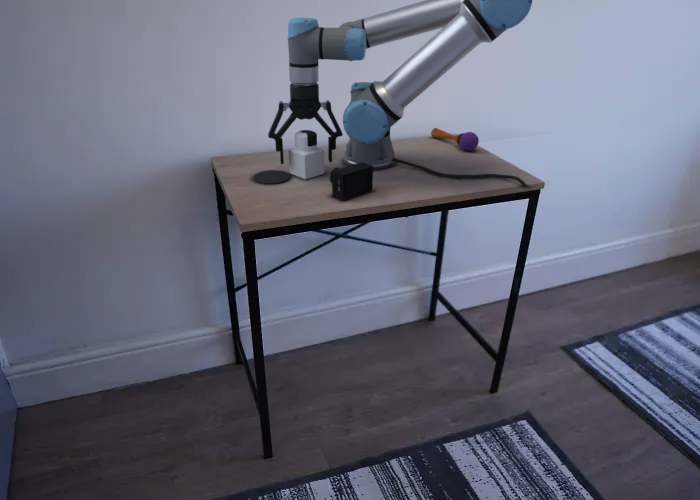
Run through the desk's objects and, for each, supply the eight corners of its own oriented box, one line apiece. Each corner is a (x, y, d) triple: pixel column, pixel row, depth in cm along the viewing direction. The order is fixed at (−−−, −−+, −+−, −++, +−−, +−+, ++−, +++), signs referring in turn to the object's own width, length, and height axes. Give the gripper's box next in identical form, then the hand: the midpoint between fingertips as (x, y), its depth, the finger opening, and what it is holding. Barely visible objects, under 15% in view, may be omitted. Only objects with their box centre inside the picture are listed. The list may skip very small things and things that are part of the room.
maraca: (443, 124, 182) (484, 134, 166) (439, 141, 184) (480, 153, 168) (429, 123, 178) (470, 133, 163) (426, 140, 180) (466, 152, 165)
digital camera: (358, 185, 141) (358, 160, 137) (372, 191, 137) (373, 165, 134) (328, 195, 134) (328, 169, 131) (343, 201, 131) (343, 174, 128)
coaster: (295, 173, 148) (295, 172, 148) (281, 186, 140) (281, 184, 139) (263, 170, 151) (262, 168, 150) (247, 181, 142) (247, 180, 142)
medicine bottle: (308, 167, 153) (307, 126, 147) (324, 174, 148) (324, 132, 143) (289, 173, 148) (287, 131, 143) (305, 180, 144) (304, 137, 138)
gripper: (349, 79, 141) (348, 156, 151) (256, 80, 138) (261, 158, 148) (353, 85, 135) (352, 164, 145) (255, 86, 132) (261, 167, 142)
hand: (306, 161), depth 147 cm, fingers open, 13 cm apart
